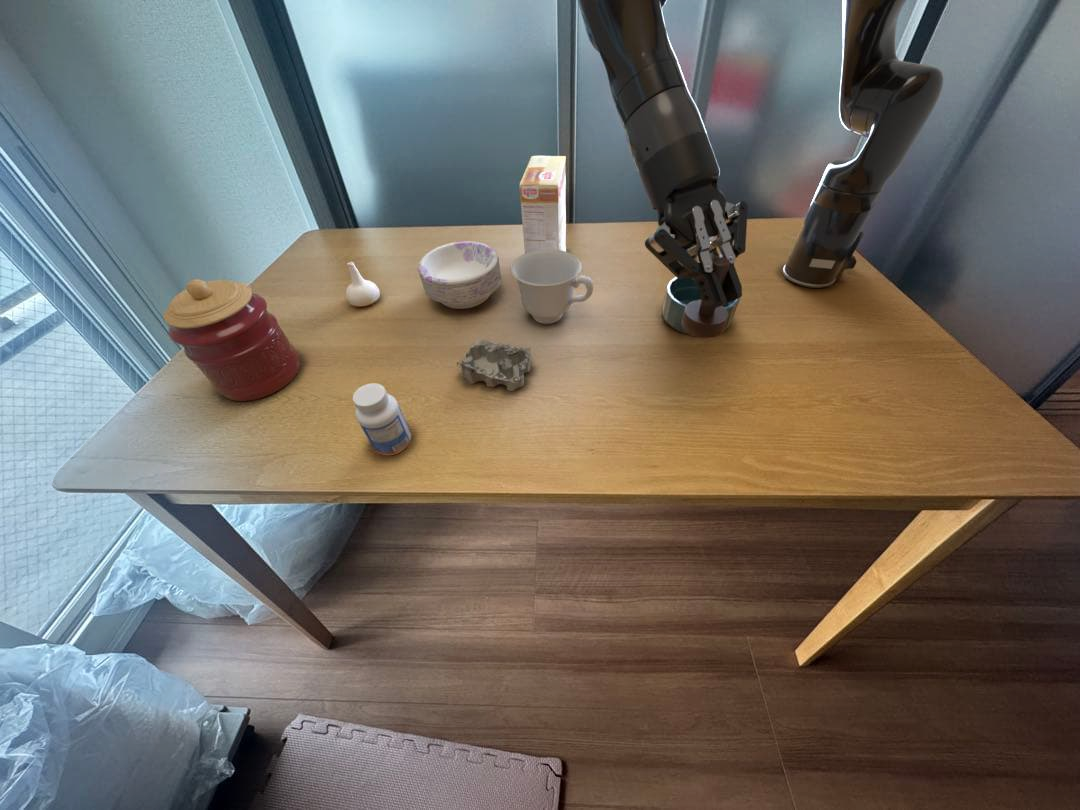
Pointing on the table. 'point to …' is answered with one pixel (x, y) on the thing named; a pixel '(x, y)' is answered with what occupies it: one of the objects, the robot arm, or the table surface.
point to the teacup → (549, 283)
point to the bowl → (687, 302)
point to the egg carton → (496, 364)
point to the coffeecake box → (544, 203)
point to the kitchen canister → (232, 338)
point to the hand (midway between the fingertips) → (725, 302)
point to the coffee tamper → (707, 310)
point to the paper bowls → (460, 273)
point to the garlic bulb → (360, 289)
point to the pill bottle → (381, 419)
